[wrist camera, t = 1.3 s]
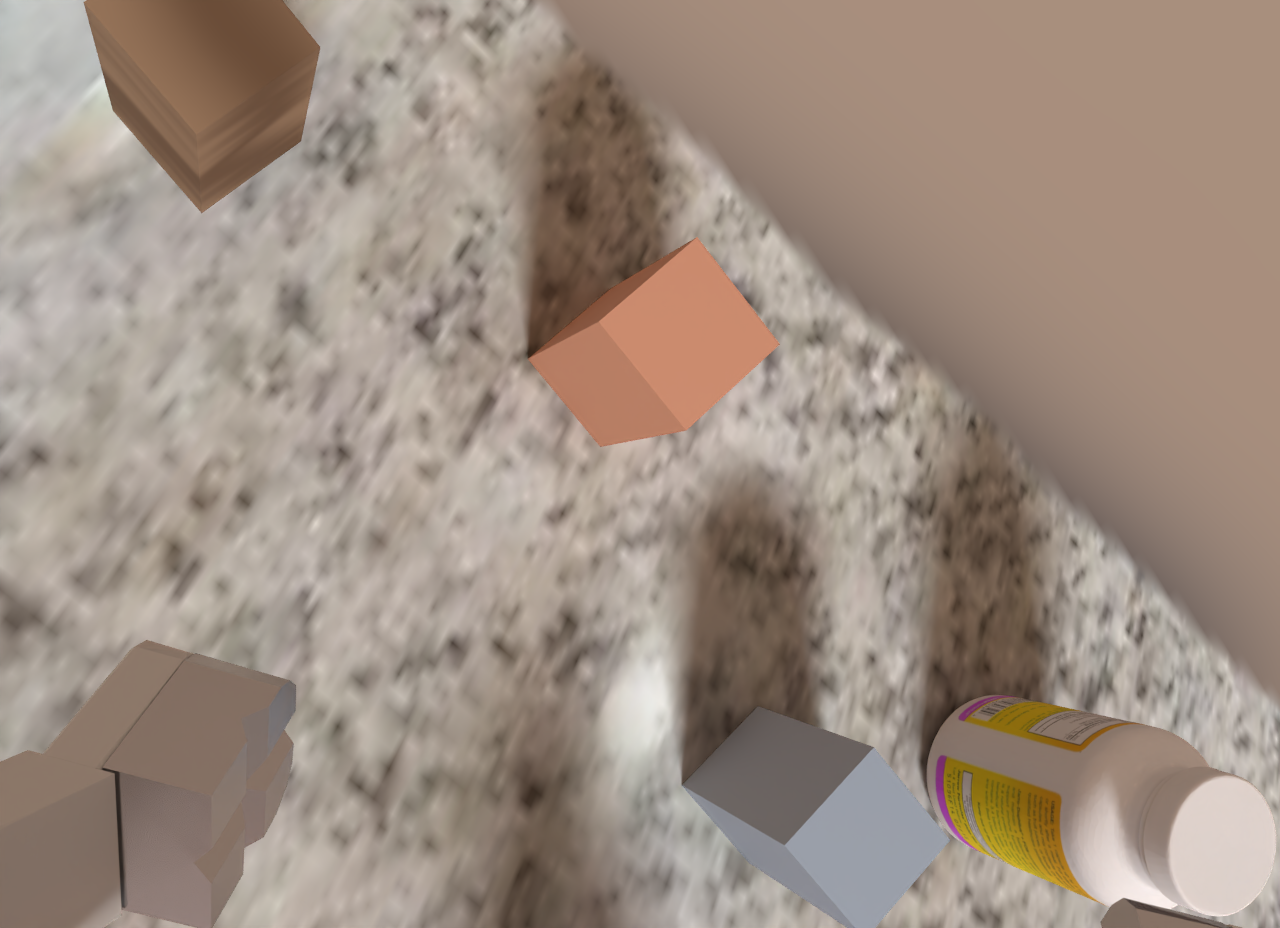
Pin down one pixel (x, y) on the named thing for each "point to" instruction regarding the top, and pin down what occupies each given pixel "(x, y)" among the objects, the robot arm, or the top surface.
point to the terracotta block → (655, 349)
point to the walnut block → (206, 84)
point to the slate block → (818, 815)
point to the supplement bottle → (1100, 806)
